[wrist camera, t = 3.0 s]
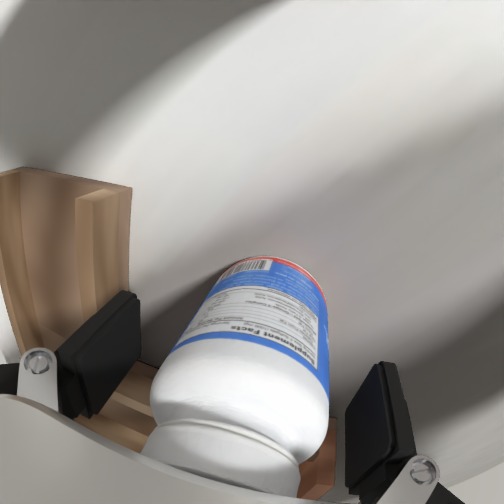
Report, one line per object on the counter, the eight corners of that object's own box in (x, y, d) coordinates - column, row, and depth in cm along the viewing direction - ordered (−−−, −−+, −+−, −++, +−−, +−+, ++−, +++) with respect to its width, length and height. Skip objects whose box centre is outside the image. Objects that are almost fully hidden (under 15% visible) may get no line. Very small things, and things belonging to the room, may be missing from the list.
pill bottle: (295, 363, 15) (264, 541, 6) (201, 323, 15) (107, 483, 6) (349, 281, 13) (373, 500, 4) (237, 230, 13) (103, 408, 4)
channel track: (420, 262, 12) (463, 327, 7) (294, 474, 20) (285, 523, 15) (23, 166, 14) (-40, 185, 10) (59, 385, 22) (31, 418, 18)
